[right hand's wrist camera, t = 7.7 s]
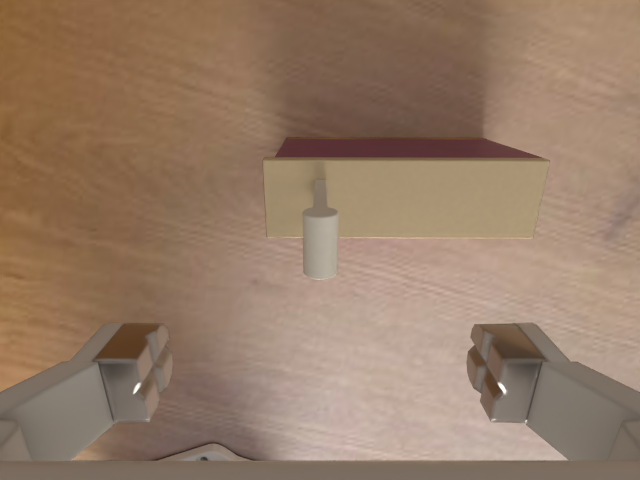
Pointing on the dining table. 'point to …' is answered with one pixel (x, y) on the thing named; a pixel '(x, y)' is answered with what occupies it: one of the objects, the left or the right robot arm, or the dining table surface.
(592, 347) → the dining table surface
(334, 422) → the dining table surface
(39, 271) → the dining table surface
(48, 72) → the dining table surface
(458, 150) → the chest
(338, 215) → the lid
